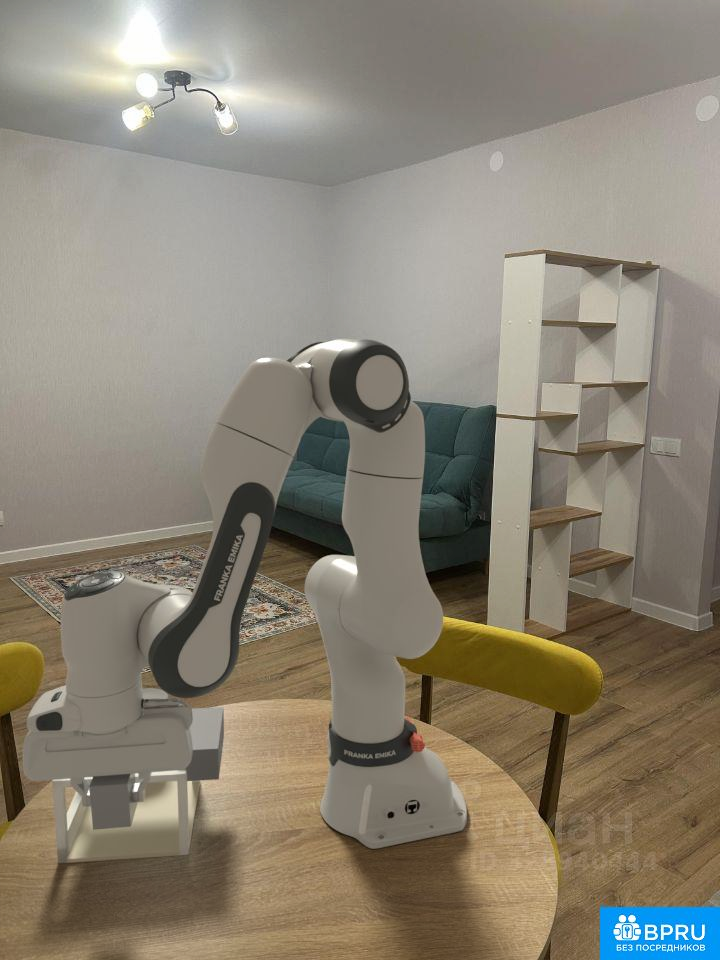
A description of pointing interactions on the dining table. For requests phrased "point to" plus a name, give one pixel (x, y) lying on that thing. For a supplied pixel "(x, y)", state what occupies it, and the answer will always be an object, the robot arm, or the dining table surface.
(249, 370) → the robot arm
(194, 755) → the trapdoor
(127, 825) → the grey block
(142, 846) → the frame
